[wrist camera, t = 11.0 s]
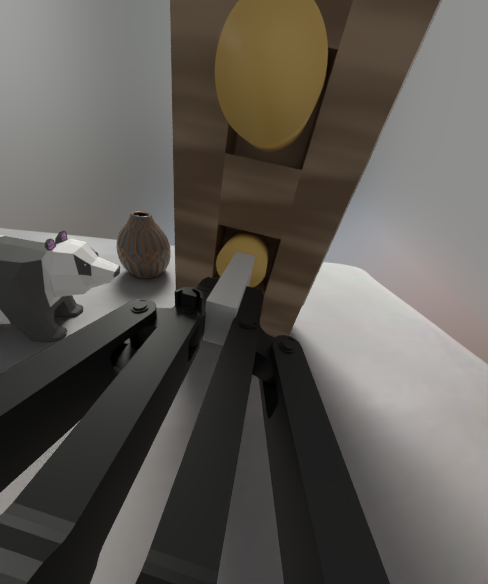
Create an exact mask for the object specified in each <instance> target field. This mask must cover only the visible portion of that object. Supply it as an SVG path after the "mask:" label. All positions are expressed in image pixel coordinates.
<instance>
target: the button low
mask: <svg viewBox="0 0 488 584" xmlns="http://www.w3.org/2000/svg"><path fill="white" fill-rule="evenodd" d="M236 251H237V252H241V253H245V254H249V255H253V256H256V257H255V262H254V266H253V270H252V275H251V279H250V283H249V287H252V288H253V287H255V286H257V285H258V284H259V283H260V282H261V281H262V280H263V278H264V277H265V274H266V269H267V263H268V258H269V252H270V248H269V243H268V241H267V239H266V237H265V236H264V235H261V234H257V233H252V232H248V231H244V230H239V231H237V232H236V233H234V234H233V235H232V237H231V238H230V239H229V241H228V242H227V243H226V244H225V246H224V247H223V248H222V249H221V251H220V252H219V254H218V256H217V260H216V268H217V271H218V274H219V276H220V277H221V276H222V274H223V272H224V271H225V269H226V268H227V266H228V264H229V263H230V261H231V260H232V258H233V256H234V255H235V253H236Z"/></svg>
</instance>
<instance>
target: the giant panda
mask: <svg viewBox="0 0 488 584" xmlns="http://www.w3.org/2000/svg"><path fill="white" fill-rule="evenodd" d="M119 273H120V266H118V265H116V264H114V263H111V262H109V261H107V260H104V259H102V258H100V257H99V256H98V253H97V252H95V251H94V250H93V249H92V248H91V247H90V246H89V245H88V243H87V242H83V241H79V240H74V239H69V240H67V234H66V231H62V232H60V233H59V234H58V235H57V237H56V240H55V242H54V240H53V239H48V240H46V242H45V243H41V242H34V241H29V240H23V239H18V238H12V237H7V236H1V235H0V324H12V325H13V326H15V327H17V328H18V329H20V330H22V331H23V332H24V333H25V334H26V335H27V336H28V337H29V338H30V339H31V340H32V341H40V342H48V341H59V340H61V339H62V338H63V337H64V336H66V332H67V330H66V328H63V327H60V326H59V325H58V324H57V323H56V322H55V321H54V316H77V315H79V314H80V313H81V312H83V307H82V306H81V305H78V304H76V302H75V300H74V299H73V296H72V295H79V294H85V293H86V292H87V291H89V290H90V289H91V288H93V287H97V286H100V285H103V284H106V283H110V282H111V281H112V280H114V278H115V277H116V276H117V275H118V274H119Z"/></svg>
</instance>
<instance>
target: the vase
mask: <svg viewBox="0 0 488 584" xmlns="http://www.w3.org/2000/svg"><path fill="white" fill-rule="evenodd" d="M117 253H118V256H119V259H120V261H121V263H122V265H123V266H124V268H125V269H126V270H127V271H128V272H130V273H131V274H133V275H135V276H137V277H140V278H153V277H156V276H158V275H160V274H161V273H162V272H164V271H165V269H166V268H167V266H168V264H169V261H170V245H169V242H168V239H167V237H166V235H165V233H164V232H163V231H162V230H161V228H160V227H159V226H158V225H157V224H156V223H155V221H154V220H153V218H152V216H151V214H149V213H147V212H140V211H136V212H132V213H131V214H130V217H129V220H128V221H127V223H126V224H125V225H124V227H123V228H122V229H121V231H120V233H119V236H118V238H117Z"/></svg>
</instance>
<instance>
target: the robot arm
mask: <svg viewBox="0 0 488 584" xmlns="http://www.w3.org/2000/svg"><path fill="white" fill-rule="evenodd" d="M255 257H256V256H253V255H249V254H245V253H241V252H237V251H236V253H235V255H234V256H233V258H232V260H231V261H230V263H229V264H228V266H227V268H226V269H225V271H224V272H223V274H222V276H221V277H220V279H219V280H218V279H215V278H211V277H207V278H205V279H203V280H202V281H201V282H200V283H199V285H198V286H197V287H196V288H194V287H182V288H179V289H177V290H176V291H175V306H174V307H173V308H156V304H155V303H154V302H153V301H152V300H149V299H136V300H133V301H130V302H128V303H127V304H125V305H123V306H121V307H119V308H118V309H116V310H114V311H112V312H110V313H109V314H107V315H105V316H103V317H101V318H100V319H98V320H96V321H94V322H92V323H91V324H89V325H87V326H85V327H83V328H82V329H80V330H78V331H76V332H75V333H73V334H71V335H69V336H67V337H66V338H64V339H62V340H60V341H58V342H57V343H55V344H53V345H51V346H49V347H48V348H46V349H44V350H42V351H40V352H39V353H37V354H35V355H33V356H31V357H30V358H28V359H26V360H24V361H22V362H21V363H19V364H17V365H15V366H14V367H12V368H10V369H8V370H6V371H5V372H3V373H1V374H0V492H1V491H3V490H4V489H5V488H6V487H7V486H8V485H9V484H10V483H11V482H12V481H14V480H15V479H16V478H17V477H18V476H19V475H20V474H21V473H22V472H23V471H25V470H26V469H27V468H28V467H29V466H30V465H31V464H32V463H33V462H35V461H36V460H37V459H38V458H39V457H40V456H41V455H42V454H43V453H44V452H46V451H47V450H48V449H49V448H50V447H51V446H52V445H53V444H54V443H56V442H57V441H58V440H59V439H60V438H61V437H62V436H63V435H64V434H65V433H67V432H68V431H69V430H70V429H71V428H72V427H73V426H74V425H75V424H76V423H78V422H79V421H80V422H79V423H78V424H77V425H76V426H75V428H74V429H73V430H72V431H71V433H70V434H69V435H68V436H67V437H66V439H65V440H64V441H63V442H62V443H61V445H60V446H59V447H58V448H57V450H56V451H55V452H54V453H53V454H52V456H51V457H50V458H49V459H48V460H47V462H46V463H45V464H44V465H43V467H42V468H41V469H40V470H39V471H38V473H37V474H36V475H35V476H34V478H33V479H32V480H31V481H30V482H29V484H28V485H27V486H26V487H25V488H24V490H23V491H22V492H21V493H20V495H19V496H18V497H17V498H16V499H15V501H14V502H13V503H12V504H11V505H10V506H9V507H8V508H7V510H6V511H5V512H4V513H3V514H1V515H0V584H90V582H91V580H92V577H93V574H94V572H95V569H96V566H97V562H98V558H99V554H100V552H101V549H102V546H103V544H104V542H105V540H106V538H107V536H108V534H109V532H110V530H111V528H112V525H113V523H114V521H115V519H116V517H117V515H118V513H119V511H120V509H121V507H122V505H123V503H124V501H125V499H126V497H127V495H128V493H129V491H130V489H131V486H132V484H133V482H134V480H135V478H136V476H137V474H138V472H139V470H140V468H141V466H142V464H143V462H144V460H145V458H146V456H147V454H148V452H149V450H150V448H151V445H152V443H153V441H154V439H155V437H156V435H157V433H158V431H159V429H160V427H161V425H162V423H163V421H164V419H165V417H166V415H167V413H168V411H169V409H170V407H171V404H172V402H173V400H174V398H175V396H176V394H177V392H178V390H179V388H180V386H181V384H182V382H183V380H184V378H185V376H186V374H187V372H188V370H189V368H190V366H191V363H192V361H193V359H194V357H195V355H196V353H197V351H198V349H199V345H200V340H201V338H202V336H203V341H206V342H210V343H214V344H217V345H221V346H223V348H222V351H221V354H220V357H219V360H218V362H217V365H216V368H215V371H214V373H213V376H212V379H211V382H210V384H209V387H208V390H207V393H206V395H205V398H204V401H203V404H202V407H201V409H200V412H199V415H198V418H197V420H196V423H195V426H194V429H193V431H192V434H191V437H190V440H189V442H188V445H187V448H186V451H185V454H184V456H183V459H182V462H181V465H180V467H179V470H178V473H177V476H176V478H175V481H174V484H173V487H172V489H171V492H170V495H169V498H168V501H167V503H166V506H165V509H164V512H163V514H162V517H161V520H160V523H159V525H158V528H157V531H156V534H155V536H154V539H153V542H152V545H151V547H150V550H149V553H148V556H147V558H146V561H145V563H144V566H143V568H142V571H141V573H140V575H139V577H138V579H137V581H136V584H217V577H218V571H219V565H220V559H221V554H222V548H223V542H224V536H225V530H226V524H227V518H228V512H229V506H230V501H231V495H232V489H233V483H234V477H235V471H236V465H237V459H238V454H239V448H240V442H241V436H242V430H243V424H244V418H245V412H246V406H247V401H248V395H249V389H250V383H251V377H252V374H253V375H255V376H256V377H258V378H259V383H260V391H261V399H262V408H263V416H264V424H265V432H266V440H267V448H268V456H269V464H270V472H271V480H272V489H273V497H274V505H275V513H276V521H277V529H278V537H279V545H280V553H281V561H282V570H283V578H284V584H390V583H389V580H388V577H387V575H386V572H385V569H384V567H383V564H382V561H381V558H380V556H379V553H378V550H377V548H376V545H375V542H374V540H373V537H372V534H371V532H370V529H369V526H368V524H367V521H366V518H365V516H364V513H363V510H362V508H361V505H360V502H359V500H358V497H357V494H356V491H355V489H354V486H353V483H352V481H351V478H350V475H349V473H348V470H347V467H346V465H345V462H344V459H343V457H342V454H341V451H340V449H339V446H338V443H337V441H336V438H335V435H334V432H333V430H332V427H331V424H330V422H329V419H328V416H327V414H326V411H325V408H324V406H323V403H322V400H321V398H320V395H319V392H318V390H317V387H316V384H315V382H314V379H313V376H312V373H311V371H310V368H309V365H308V363H307V360H306V357H305V355H304V352H303V349H302V347H301V345H300V344H299V342H298V341H296V340H295V339H294V338H292V337H290V336H287V335H278V336H277V337H275V338H274V337H272V336H270V335H269V334H267V333H266V332H265V331H264V330H263V329H262V328H261V326H260V317H261V311H262V305H263V299H264V294H263V292H262V290H260V289H256V288H252V287H249V283H250V279H251V275H252V270H253V266H254V262H255ZM126 340H127V341H126Z"/></svg>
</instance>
